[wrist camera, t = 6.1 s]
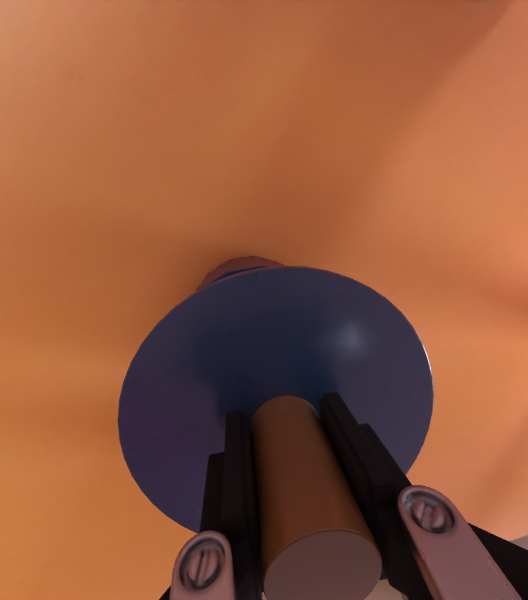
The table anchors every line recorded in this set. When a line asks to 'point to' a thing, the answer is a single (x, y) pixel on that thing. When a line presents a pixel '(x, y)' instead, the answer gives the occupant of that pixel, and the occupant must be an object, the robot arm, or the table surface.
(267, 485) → the lid
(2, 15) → the table surface
